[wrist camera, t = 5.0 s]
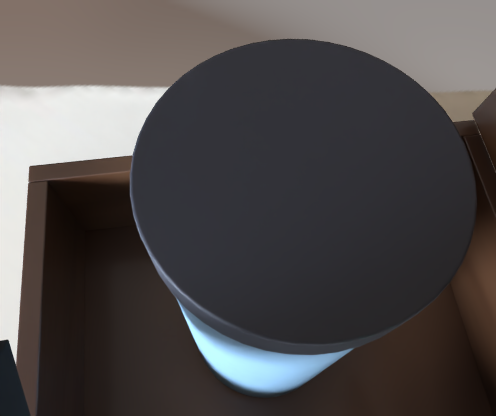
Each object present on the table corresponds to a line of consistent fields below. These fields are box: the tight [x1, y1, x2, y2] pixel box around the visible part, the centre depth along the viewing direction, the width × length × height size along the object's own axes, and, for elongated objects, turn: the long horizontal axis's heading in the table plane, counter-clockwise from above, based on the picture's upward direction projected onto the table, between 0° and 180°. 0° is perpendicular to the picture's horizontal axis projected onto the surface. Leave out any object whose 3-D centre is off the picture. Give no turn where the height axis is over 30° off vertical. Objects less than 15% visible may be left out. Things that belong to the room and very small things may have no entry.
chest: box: [16, 120, 496, 416], centre depth 20 cm, size 20×17×6 cm
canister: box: [130, 39, 477, 398], centre depth 16 cm, size 7×7×15 cm
